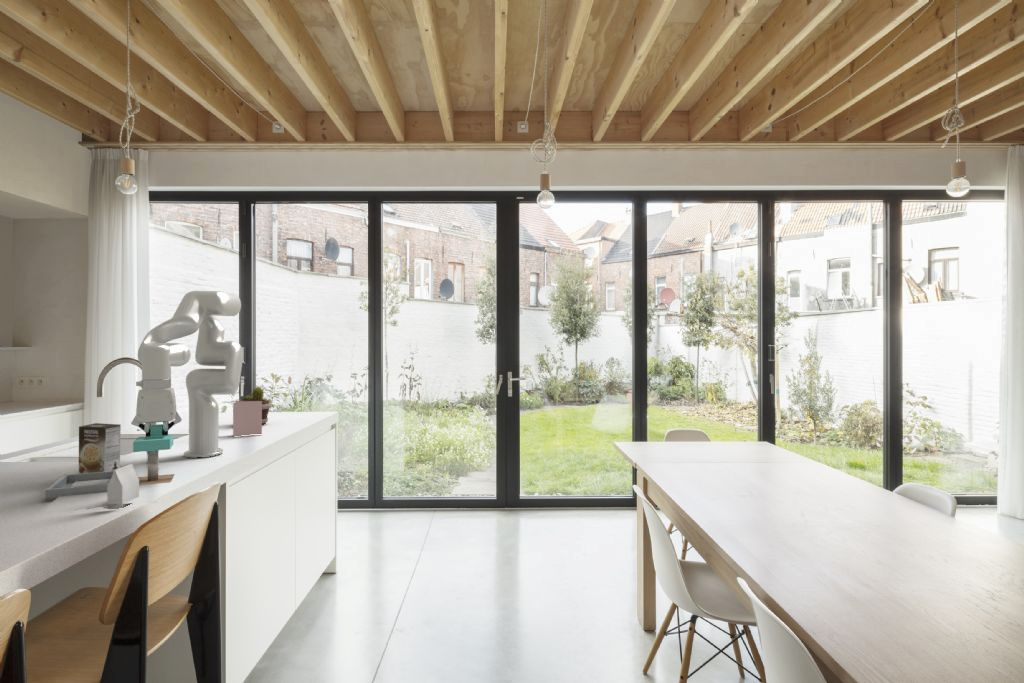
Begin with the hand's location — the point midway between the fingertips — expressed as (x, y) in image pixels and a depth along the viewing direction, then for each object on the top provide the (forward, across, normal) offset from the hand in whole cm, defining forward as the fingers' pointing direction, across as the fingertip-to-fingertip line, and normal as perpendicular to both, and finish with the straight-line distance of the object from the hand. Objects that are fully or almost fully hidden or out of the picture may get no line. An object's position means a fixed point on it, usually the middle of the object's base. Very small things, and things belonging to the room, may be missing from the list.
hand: (157, 443), depth 169 cm
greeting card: (+12, +25, +64) cm, 70 cm away
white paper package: (+10, -4, -27) cm, 29 cm away
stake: (+11, 0, -7) cm, 13 cm away
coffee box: (+11, -16, +9) cm, 21 cm away
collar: (0, 0, -4) cm, 4 cm away
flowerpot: (+13, +29, +94) cm, 99 cm away
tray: (+10, -16, -7) cm, 21 cm away
